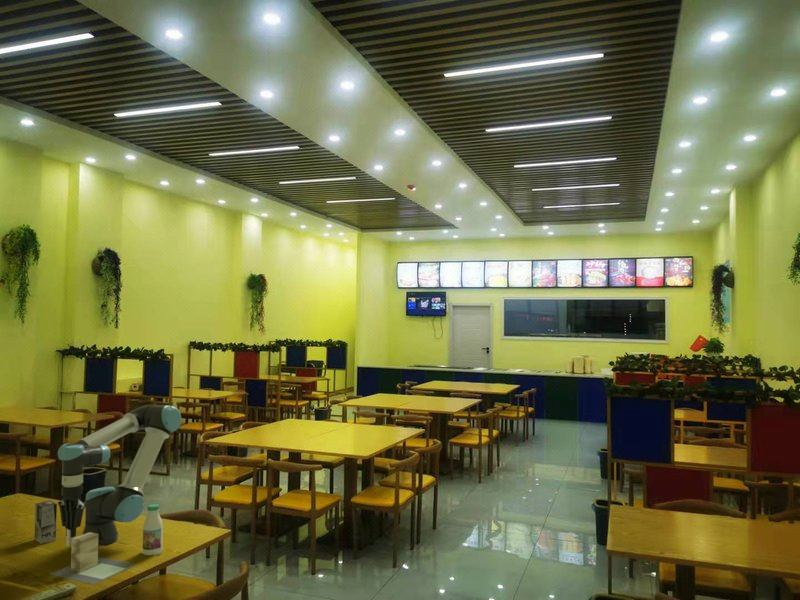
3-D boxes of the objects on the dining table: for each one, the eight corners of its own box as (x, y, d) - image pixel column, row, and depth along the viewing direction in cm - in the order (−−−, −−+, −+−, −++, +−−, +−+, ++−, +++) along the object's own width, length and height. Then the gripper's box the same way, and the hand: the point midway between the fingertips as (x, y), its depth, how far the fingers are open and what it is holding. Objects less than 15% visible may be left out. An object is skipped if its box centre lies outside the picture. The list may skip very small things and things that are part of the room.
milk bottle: (146, 550, 255) (147, 502, 256) (164, 549, 255) (165, 502, 256) (139, 557, 247) (140, 508, 248) (158, 556, 248) (159, 507, 249)
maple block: (70, 570, 232) (71, 538, 232) (88, 562, 239) (89, 532, 240) (80, 572, 230) (80, 540, 230) (97, 564, 237) (98, 533, 238)
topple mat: (48, 576, 228) (48, 574, 228) (93, 557, 246) (93, 555, 246) (94, 586, 219) (94, 584, 219) (137, 566, 237) (137, 564, 237)
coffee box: (56, 540, 267) (57, 503, 267) (40, 544, 262) (41, 507, 263) (49, 535, 273) (50, 499, 274) (33, 539, 268) (34, 502, 269)
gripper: (52, 485, 238) (50, 545, 237) (75, 488, 233) (73, 550, 232) (69, 481, 245) (67, 539, 244) (92, 484, 240) (90, 544, 239)
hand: (70, 544), depth 238 cm, fingers closed
